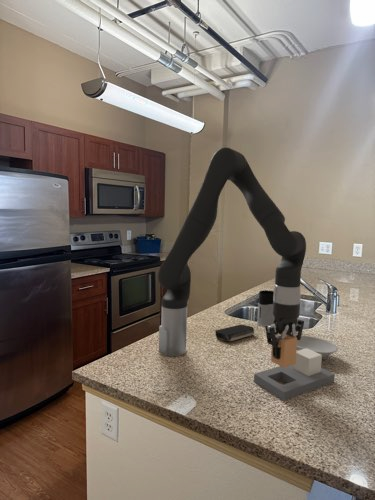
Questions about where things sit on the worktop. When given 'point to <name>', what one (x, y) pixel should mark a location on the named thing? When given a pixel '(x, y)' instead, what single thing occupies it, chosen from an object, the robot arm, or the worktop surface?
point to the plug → (286, 351)
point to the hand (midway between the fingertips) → (283, 356)
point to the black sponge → (234, 332)
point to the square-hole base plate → (296, 376)
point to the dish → (316, 345)
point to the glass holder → (264, 308)
